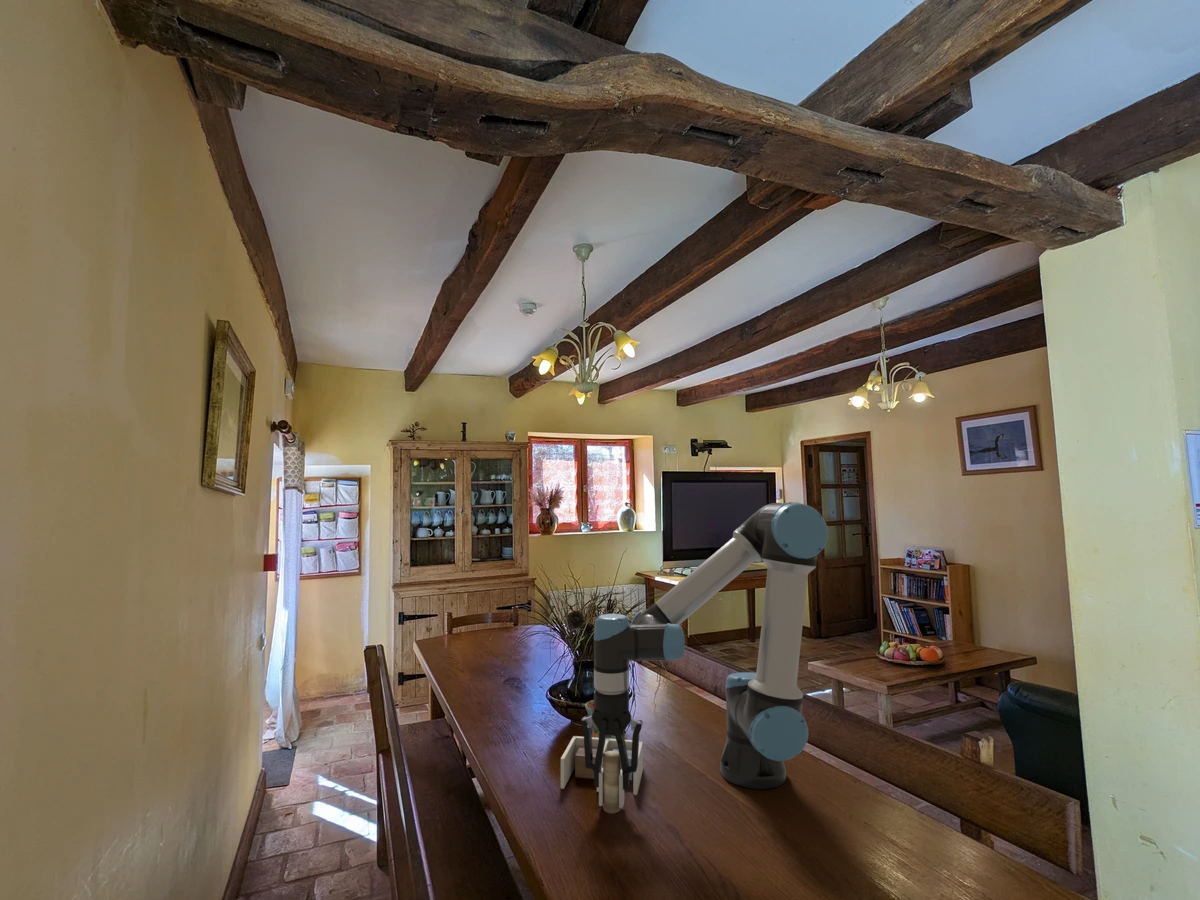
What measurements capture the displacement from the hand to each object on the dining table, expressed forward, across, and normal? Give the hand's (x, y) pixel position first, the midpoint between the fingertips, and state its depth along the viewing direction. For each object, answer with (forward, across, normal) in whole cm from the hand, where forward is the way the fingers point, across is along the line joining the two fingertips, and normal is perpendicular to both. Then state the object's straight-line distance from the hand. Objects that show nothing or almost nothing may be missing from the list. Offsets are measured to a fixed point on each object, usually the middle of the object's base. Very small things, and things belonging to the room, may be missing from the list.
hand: (611, 803), depth 123 cm
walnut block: (+1, +8, -15) cm, 17 cm away
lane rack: (+1, +4, -13) cm, 14 cm away
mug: (+1, +6, -32) cm, 33 cm away
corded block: (+1, 0, -8) cm, 8 cm away
